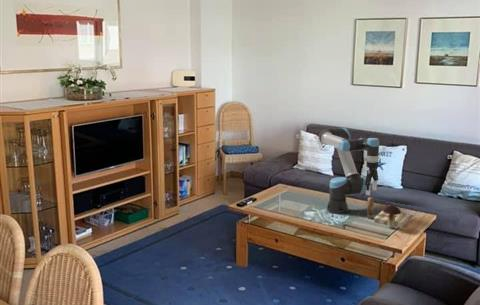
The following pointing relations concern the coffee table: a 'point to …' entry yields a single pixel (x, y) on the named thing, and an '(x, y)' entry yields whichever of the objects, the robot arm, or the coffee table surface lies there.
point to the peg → (370, 207)
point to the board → (384, 217)
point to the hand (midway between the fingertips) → (371, 192)
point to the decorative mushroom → (392, 214)
